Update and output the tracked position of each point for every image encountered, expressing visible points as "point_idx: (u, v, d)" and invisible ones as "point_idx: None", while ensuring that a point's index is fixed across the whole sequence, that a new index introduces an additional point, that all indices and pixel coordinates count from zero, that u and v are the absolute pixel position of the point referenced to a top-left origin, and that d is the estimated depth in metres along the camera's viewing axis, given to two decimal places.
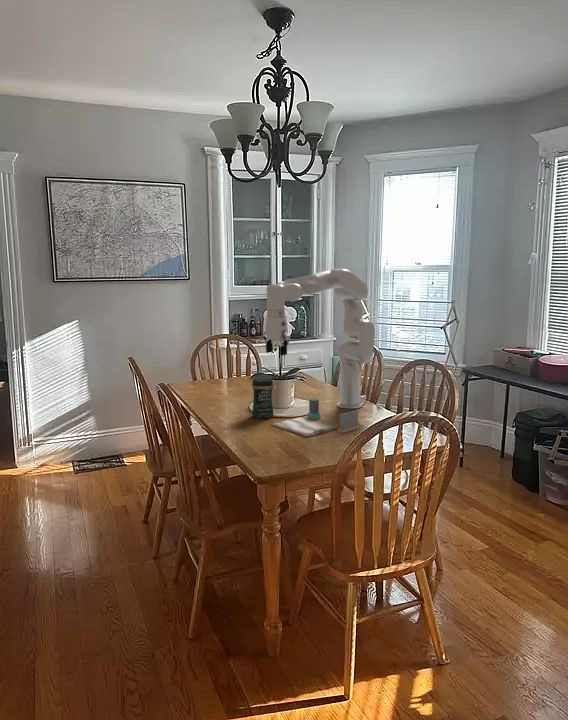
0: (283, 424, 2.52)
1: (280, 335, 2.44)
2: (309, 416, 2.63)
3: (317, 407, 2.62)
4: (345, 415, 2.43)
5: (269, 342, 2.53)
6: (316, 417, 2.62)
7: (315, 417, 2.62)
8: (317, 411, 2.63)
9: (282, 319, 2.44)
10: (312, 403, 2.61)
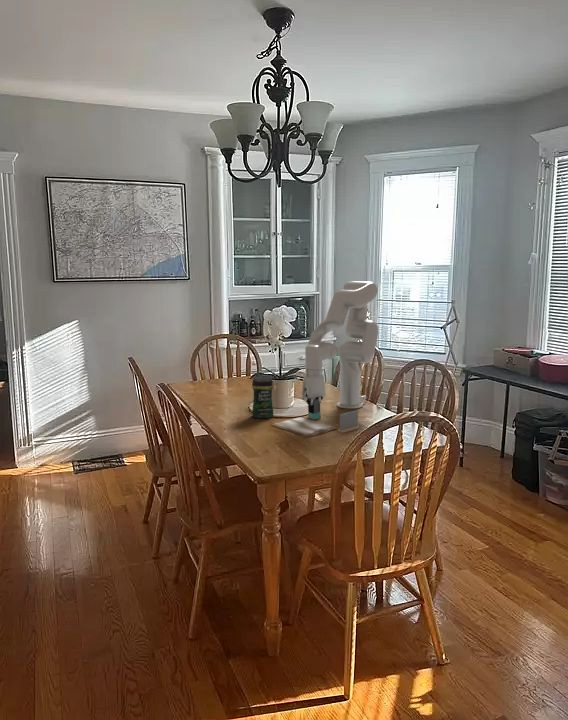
0: (283, 424, 2.52)
1: None
2: (309, 416, 2.63)
3: (317, 407, 2.62)
4: (345, 415, 2.43)
5: None
6: (316, 417, 2.62)
7: (315, 417, 2.61)
8: (317, 411, 2.63)
9: None
10: None
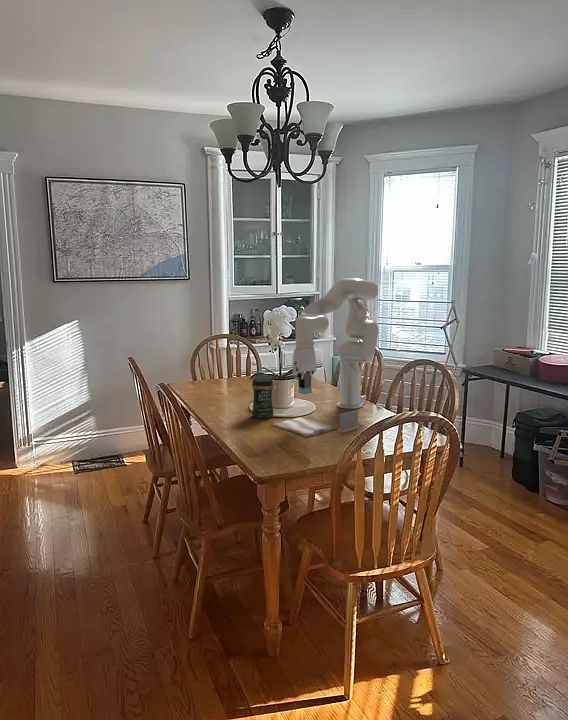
0: (283, 424, 2.52)
1: None
2: (300, 391, 2.53)
3: (308, 381, 2.53)
4: (345, 415, 2.43)
5: None
6: (307, 392, 2.52)
7: (306, 392, 2.52)
8: (308, 386, 2.53)
9: None
10: None
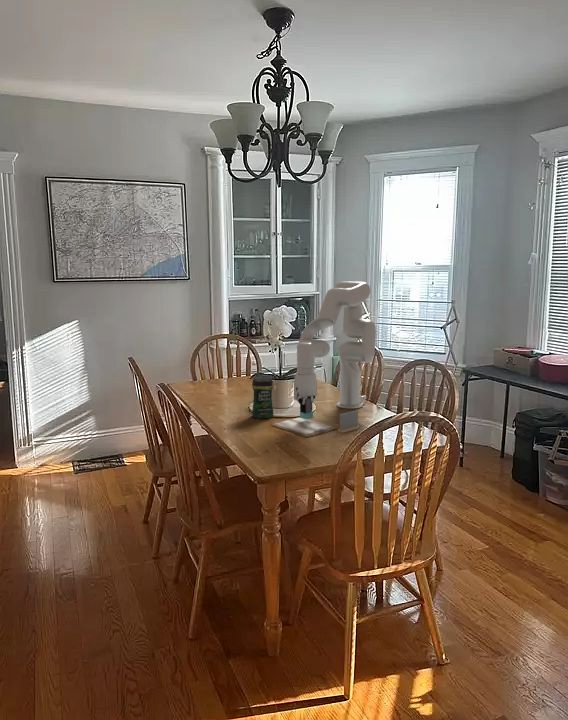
0: (283, 424, 2.52)
1: None
2: (301, 416, 2.55)
3: (309, 406, 2.54)
4: (345, 415, 2.43)
5: None
6: (308, 417, 2.54)
7: (307, 417, 2.53)
8: (309, 410, 2.54)
9: None
10: None
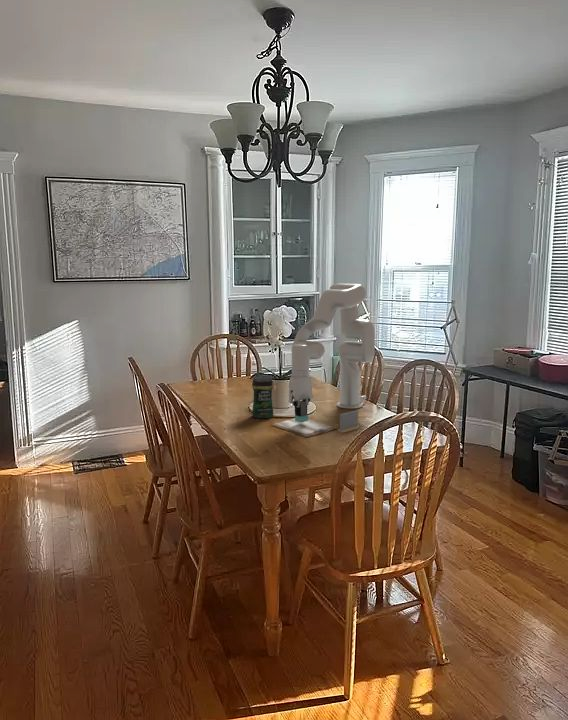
0: (283, 424, 2.52)
1: None
2: (296, 419, 2.50)
3: (304, 409, 2.49)
4: (345, 415, 2.43)
5: None
6: (303, 420, 2.49)
7: (302, 420, 2.48)
8: (304, 413, 2.49)
9: None
10: None
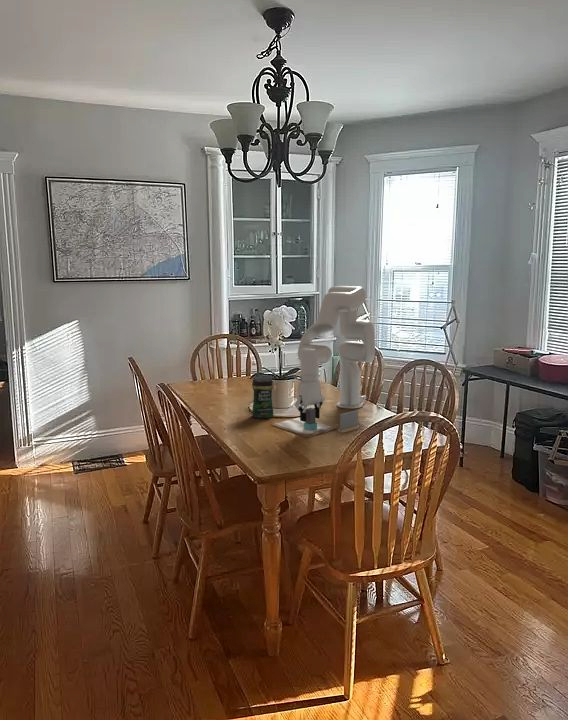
0: (283, 424, 2.52)
1: None
2: (305, 427, 2.44)
3: (314, 417, 2.44)
4: (345, 415, 2.43)
5: None
6: (313, 428, 2.43)
7: (312, 428, 2.43)
8: (314, 421, 2.44)
9: None
10: (308, 413, 2.42)
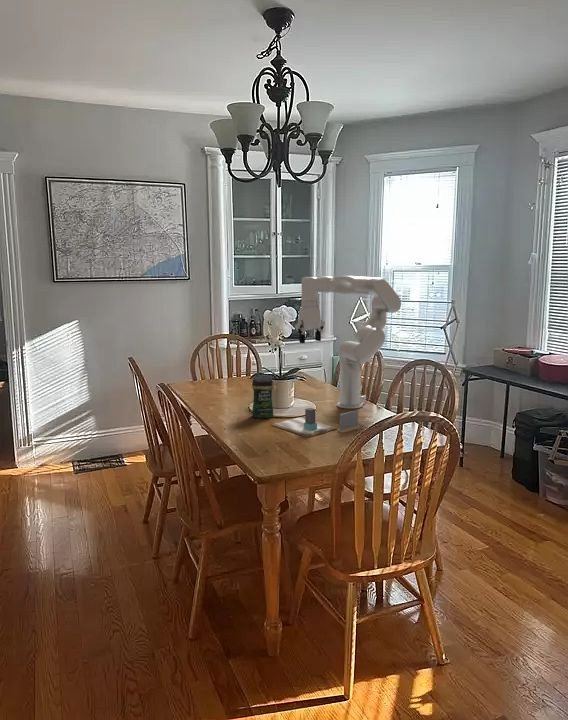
0: (283, 424, 2.52)
1: None
2: (305, 427, 2.44)
3: (314, 417, 2.44)
4: (345, 415, 2.43)
5: None
6: (313, 428, 2.43)
7: (312, 428, 2.43)
8: (314, 421, 2.44)
9: None
10: (308, 413, 2.42)
